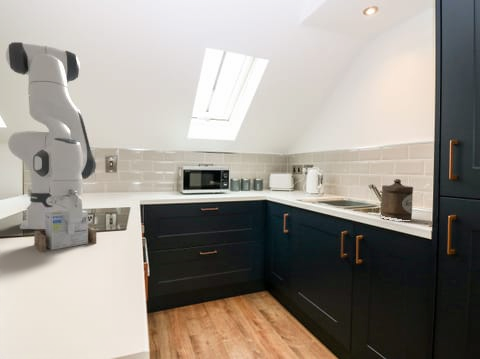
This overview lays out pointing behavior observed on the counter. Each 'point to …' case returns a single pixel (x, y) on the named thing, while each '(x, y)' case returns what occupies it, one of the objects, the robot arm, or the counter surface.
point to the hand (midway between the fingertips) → (66, 232)
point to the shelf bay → (41, 238)
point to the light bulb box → (64, 231)
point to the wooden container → (397, 201)
